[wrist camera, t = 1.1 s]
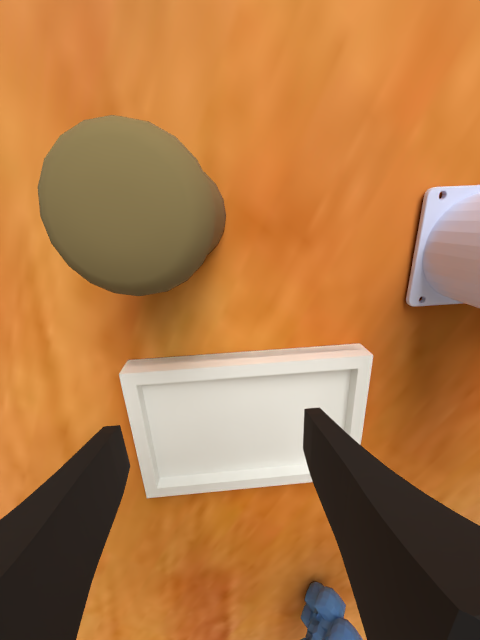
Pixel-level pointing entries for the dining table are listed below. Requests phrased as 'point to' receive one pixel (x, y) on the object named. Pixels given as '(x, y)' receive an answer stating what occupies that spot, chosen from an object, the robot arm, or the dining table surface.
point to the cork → (128, 205)
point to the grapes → (326, 615)
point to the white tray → (238, 414)
